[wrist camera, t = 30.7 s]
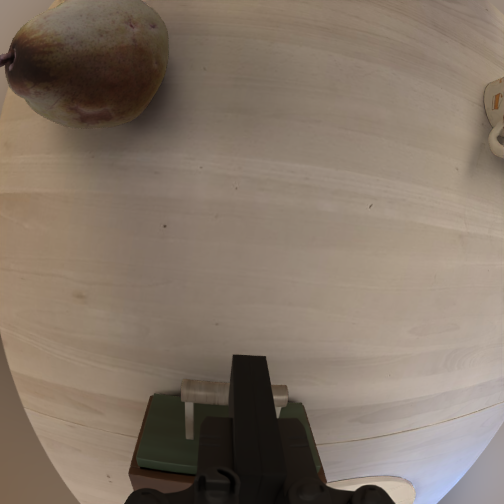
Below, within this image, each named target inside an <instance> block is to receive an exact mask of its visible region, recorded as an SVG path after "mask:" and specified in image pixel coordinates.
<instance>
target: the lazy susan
mask: <svg viewBox="0 0 504 504" xmlns="http://www.w3.org/2000/svg"><path fill="white" fill-rule="evenodd" d="M368 484H369V485H376V486H379V487H381V488H382V489H384V490H385V491H386V492H387V493H388V495H389V496H390V497H391V498H392V500H393V501H394V502H395V504H412V503H413V502H414V499H415V495H416V492H415V489H414V487H413V485H412V484H411V483H410V482H409V481H408V480H406V479H403V478H399V477H392V476H375V477H363V478H355V479H348V480H342V481H336V482H331V483H326V485H327V486H329V487H331V488H335V489H340V490H348V491H355V490H356V489H358V488H359V487H361V486H364V485H368Z"/></svg>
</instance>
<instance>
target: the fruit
mask: <svg viewBox="0 0 504 504" xmlns="http://www.w3.org/2000/svg"><path fill="white" fill-rule="evenodd" d="M168 53H169V45H168V33H167V29H166V26H165V24H164V22H163V21H162V19H161V18H160V16H159V15H158V14H157V13H156V12H155V11H154V10H153V9H152V8H151V7H150V6H148V5H147V4H146V3H144V2H143V1H141V0H66V1H64V2H63V3H61V4H60V5H59V6H57V7H56V8H54V9H51V10H48V11H45V12H43V13H42V14H39V15H37V16H36V17H35V18H33V19H32V20H30V21H29V22H27V23H26V24H25V25H24V26H23V27H22V28H21V29H20V30H19V31H18V32H17V34H16V35H15V37H14V38H13V40H12V43H11V45H10V49H9V52H8V53H6V54H2V55H0V67H2V66H4V65H5V73H6V78H7V81H8V84H9V87H10V88H11V90H12V91H13V92H14V93H15V94H17V95H18V96H20V97H22V98H24V99H25V100H26V102H27V103H28V105H29V106H30V107H31V108H32V109H33V110H34V111H35V112H36V113H38V114H40V115H41V116H43V117H45V118H46V119H48V120H50V121H53V122H55V123H57V124H60V125H63V126H66V127H70V128H106V127H113V126H117V125H121V124H124V123H127V122H130V121H131V120H133V119H135V118H136V117H138V116H139V115H140V114H141V113H142V112H143V111H144V109H145V108H146V107H147V106H148V104H149V103H150V101H151V99H152V98H153V96H154V95H155V93H156V92H157V90H158V88H159V86H160V84H161V82H162V80H163V78H164V75H165V72H166V68H167V63H168Z"/></svg>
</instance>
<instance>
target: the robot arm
mask: <svg viewBox="0 0 504 504" xmlns="http://www.w3.org/2000/svg"><path fill="white" fill-rule="evenodd" d="M228 405H229V417H214V416H206V418H205V419H204V420H203V422H202V423H201V425H200V437H199V448H198V461H197V473H196V476H195V479H194V483H193V484H192V485H191V486H190V487H189V488H187V489H185V490H182V491H179V492H172V493H165V494H164V493H162V492H160V491H158V490H156V489H151V488H141V489H138V490H136V491H133V492H132V493H131V494H130V495H129V497H128V498H127V500H126V502H125V503H124V504H395V502H394V501H393V500H392V498H391V497H390V496H389V495H388V493H387V492H386V491H385V490H384V489H382V488H381V487H379V486H376V485H369V484H368V485H364V486H361V487H359V488H358V489H356V490H355V491H348V490H340V489H335V488H331V487H329V486H327V485H326V484H324V483H323V482H322V481H321V480H320V478H319V476H318V473H317V470H316V466H315V462H314V459H313V455H312V452H311V448H310V446H309V445H310V444H309V441H308V439H307V433H306V430H305V427H304V425H303V424H302V423H301V422H300V421H299V420H298V418H277V415H276V409H275V404H274V399H273V393H272V388H271V382H270V377H269V371H268V366H267V361H266V356H250V355H234V354H233V358H232V367H231V377H230V387H229V397H228Z"/></svg>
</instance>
